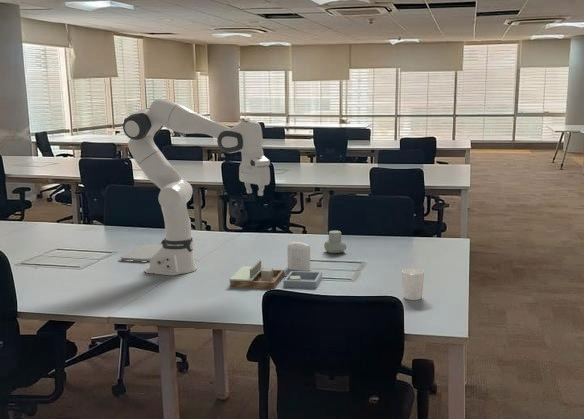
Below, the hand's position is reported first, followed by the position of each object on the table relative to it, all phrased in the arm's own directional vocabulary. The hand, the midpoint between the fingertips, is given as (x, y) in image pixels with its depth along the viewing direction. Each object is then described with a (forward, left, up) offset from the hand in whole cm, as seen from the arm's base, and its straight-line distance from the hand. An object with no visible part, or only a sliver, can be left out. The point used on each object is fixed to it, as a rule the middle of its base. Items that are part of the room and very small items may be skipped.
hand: (254, 194), depth 261 cm
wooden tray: (+2, -7, -35) cm, 36 cm away
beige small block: (+6, -7, -35) cm, 36 cm away
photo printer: (+15, +13, -35) cm, 40 cm away
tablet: (-63, +30, -36) cm, 78 cm away
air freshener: (+26, +46, -35) cm, 63 cm away
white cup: (+64, -18, -35) cm, 75 cm away
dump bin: (+20, -6, -35) cm, 41 cm away
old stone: (+18, -10, -35) cm, 40 cm away
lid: (-3, -7, -32) cm, 33 cm away
